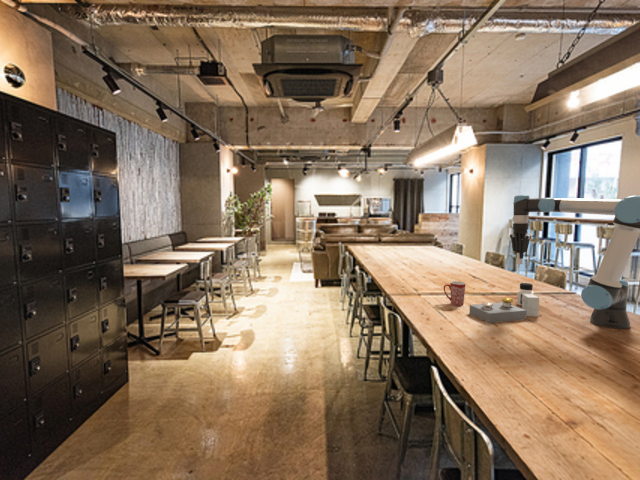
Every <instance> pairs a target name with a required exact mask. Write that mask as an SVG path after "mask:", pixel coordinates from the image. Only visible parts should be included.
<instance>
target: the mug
mask: <svg viewBox="0 0 640 480" xmlns="http://www.w3.org/2000/svg"><path fill="white" fill-rule="evenodd" d="M449 283H450V284H448V283H447V284H444V286H443V292H444V294H445V296H446V297H447V298H448V300H449V301H450V304H451V305H452V306H456V307H457V306H458V307H460V306H464V303H465V293H466V284H467V283H466V282H464V281H458V280H455V281H454V280H453V281H449ZM446 287H448V288H449V290H450V296H449V295H448V294H447V291H446Z"/></svg>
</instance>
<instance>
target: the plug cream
mask: <svg viewBox="0 0 640 480" xmlns="http://www.w3.org/2000/svg"><path fill="white" fill-rule="evenodd" d="M492 303H493V302H489V301H488V302H485V301H483V302H481V304H482V306H483V309H486V310H492V307H493V304H492Z"/></svg>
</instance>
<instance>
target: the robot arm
mask: <svg viewBox="0 0 640 480" xmlns="http://www.w3.org/2000/svg"><path fill="white" fill-rule="evenodd" d="M512 204H513V216H512V222H513V223H512V230H513V232H512V233H511V234H509V238H510V240H511V241H510V242H511V248H512V252H515V258H516V261H515V262H516V265H523V259H524V253H527V252H528V248H529V244H530V241H531V239H532V235H529V233H528V230H529V217H530V216H529V215H530V214H529V213H570V214H585V215H586V214H587V215H601V216H602V215H604V216H614V219H613V221H612V223H613V225H614V229H613V232H612V235H611V237H610V240H609V242H608V244H607V247H606V250H605V252H604V255H603V257H602V259H601V263H600V264H599V267H598V269H597V272H596V274H594V275H592V276H590V279H589V281H588V283H587V285H586V286H585V287H583V288H582V290H581V293H580V296H581V300H582V301H583V302H584V304H585V305H587V306H588V307H589V308H592V309H593V311H592V313H591V315H590V319H589V320H590V322H591V323H592V324H595V325H598V326H601V327H605V328H610V329H618V330H620V329H621V330H622V329H623V330H625V329H630V327H631V321H630V317H629V315H628V312H627V304H628V293H629V282H628V281H627V280H623V279H621V278H622V275H623V273H624V271H625V269H626V266H627V265H628V262H629V259H630V257H631V255H632V253H633V250H634V248H635V245H636V244H637V241H638V238H639V236H640V195H630V196H625V197H624V198H622V199H605V198H604V199H598V198H597V199H596V198H556V197H537V198H530V195H528V194H525V195H524V194H523V195H522V194H519V195H518V194H517V195H515V196H514V198H513V203H512Z"/></svg>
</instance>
